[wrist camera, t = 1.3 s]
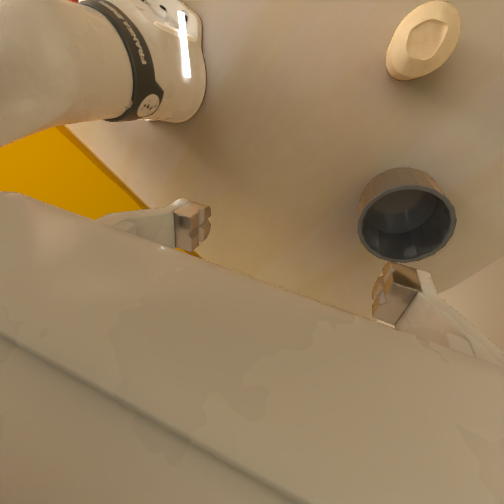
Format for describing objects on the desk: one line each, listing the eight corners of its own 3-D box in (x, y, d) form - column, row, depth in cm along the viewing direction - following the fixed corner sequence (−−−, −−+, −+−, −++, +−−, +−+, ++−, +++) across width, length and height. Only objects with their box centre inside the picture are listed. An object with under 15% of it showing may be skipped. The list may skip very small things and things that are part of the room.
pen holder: (346, 196, 41) (341, 218, 34) (413, 151, 35) (425, 166, 28) (383, 244, 43) (386, 274, 36) (454, 209, 37) (474, 237, 29)
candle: (437, 10, 28) (464, -22, 20) (441, 67, 30) (467, 57, 22) (381, 39, 31) (386, 20, 23) (389, 88, 33) (396, 87, 25)
